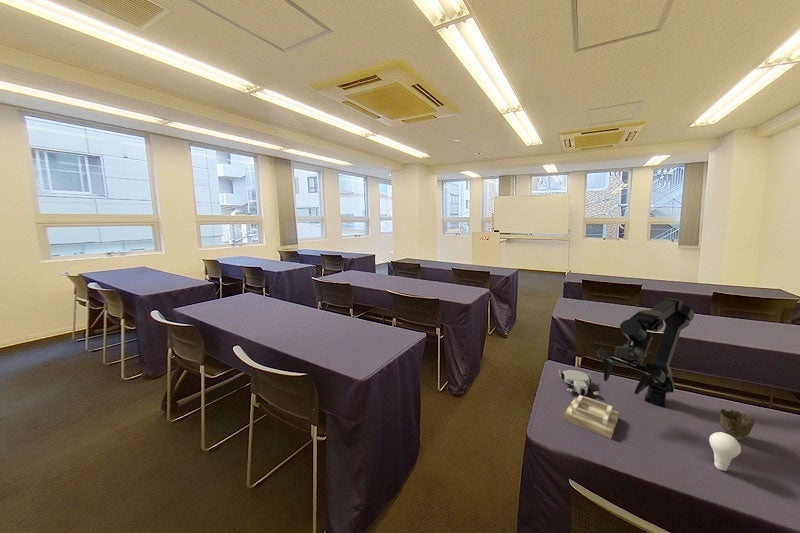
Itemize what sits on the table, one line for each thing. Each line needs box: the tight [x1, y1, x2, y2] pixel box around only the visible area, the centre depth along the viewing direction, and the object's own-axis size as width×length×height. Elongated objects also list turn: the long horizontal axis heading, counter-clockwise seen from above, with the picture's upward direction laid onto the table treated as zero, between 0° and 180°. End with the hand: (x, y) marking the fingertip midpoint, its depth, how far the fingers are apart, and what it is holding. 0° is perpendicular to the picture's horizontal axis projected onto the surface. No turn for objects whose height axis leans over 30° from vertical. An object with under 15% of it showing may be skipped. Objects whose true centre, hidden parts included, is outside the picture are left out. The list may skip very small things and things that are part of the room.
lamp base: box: [563, 394, 620, 440], centre depth 108 cm, size 14×14×5 cm
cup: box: [719, 408, 755, 442], centre depth 98 cm, size 8×7×8 cm
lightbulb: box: [708, 431, 742, 471], centre depth 86 cm, size 6×6×11 cm
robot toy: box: [558, 369, 599, 396], centre depth 128 cm, size 12×4×15 cm
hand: (619, 387), depth 102 cm, fingers open, 9 cm apart
